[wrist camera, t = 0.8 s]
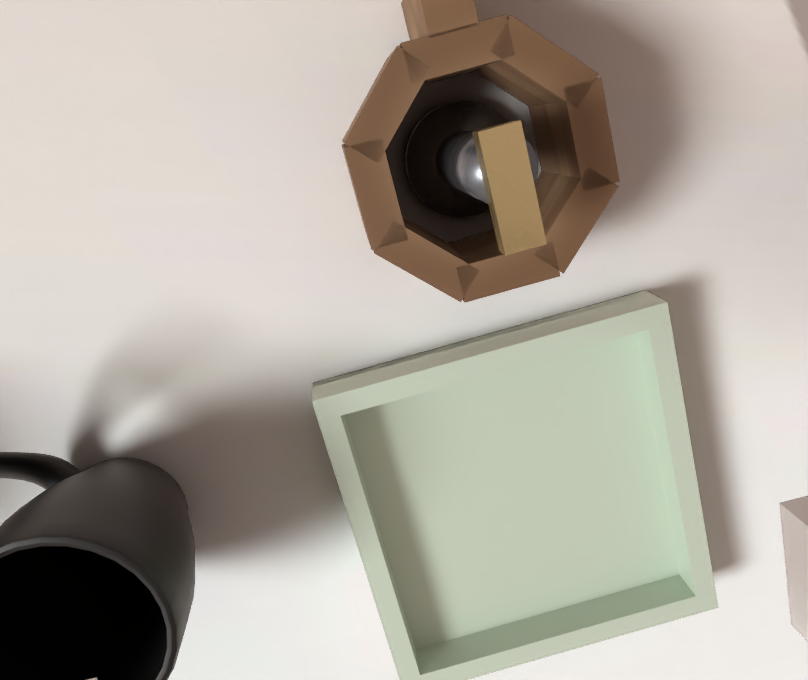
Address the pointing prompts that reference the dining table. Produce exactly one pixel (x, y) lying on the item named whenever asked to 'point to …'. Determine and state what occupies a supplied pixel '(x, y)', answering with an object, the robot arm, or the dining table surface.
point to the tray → (523, 489)
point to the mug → (94, 571)
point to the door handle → (478, 171)
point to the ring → (554, 133)
